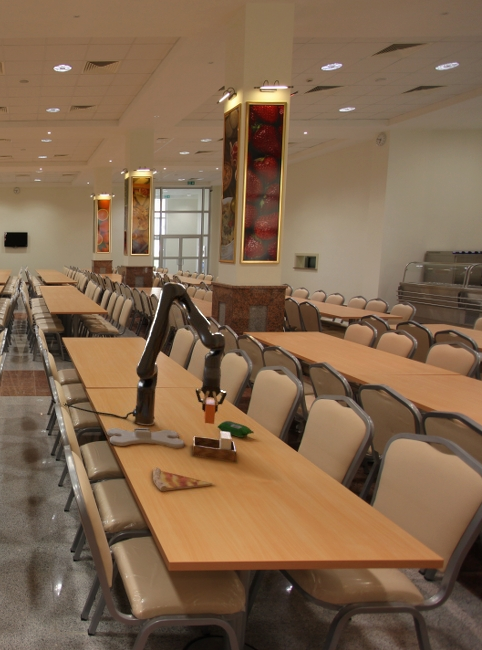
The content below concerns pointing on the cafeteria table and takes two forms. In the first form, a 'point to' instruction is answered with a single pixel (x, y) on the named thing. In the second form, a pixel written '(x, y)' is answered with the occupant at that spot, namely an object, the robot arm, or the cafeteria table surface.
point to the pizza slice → (175, 481)
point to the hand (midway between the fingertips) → (209, 411)
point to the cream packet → (225, 440)
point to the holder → (144, 437)
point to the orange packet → (209, 411)
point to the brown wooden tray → (212, 449)
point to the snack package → (235, 428)
